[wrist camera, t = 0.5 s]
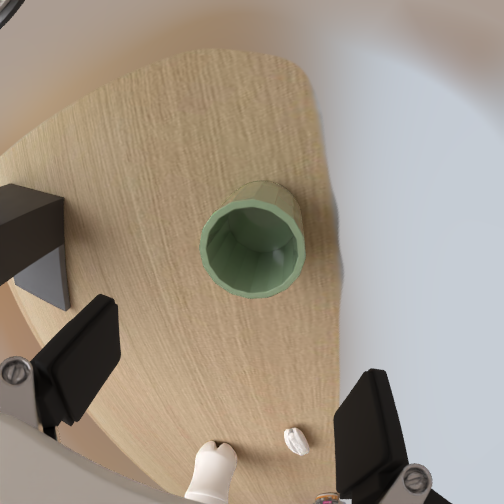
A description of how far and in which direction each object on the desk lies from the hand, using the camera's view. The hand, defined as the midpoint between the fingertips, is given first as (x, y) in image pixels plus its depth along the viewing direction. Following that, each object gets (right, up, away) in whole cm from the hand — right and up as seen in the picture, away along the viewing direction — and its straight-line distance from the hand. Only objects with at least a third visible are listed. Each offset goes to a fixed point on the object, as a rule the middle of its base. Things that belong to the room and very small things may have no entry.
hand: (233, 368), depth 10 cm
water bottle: (-5, -31, +34) cm, 46 cm away
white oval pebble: (+8, -25, +29) cm, 39 cm away
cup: (+2, +7, +17) cm, 18 cm away
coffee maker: (-29, +5, +22) cm, 37 cm away
